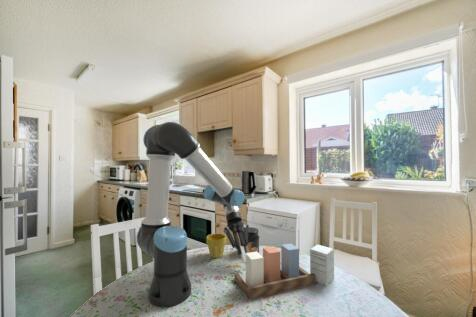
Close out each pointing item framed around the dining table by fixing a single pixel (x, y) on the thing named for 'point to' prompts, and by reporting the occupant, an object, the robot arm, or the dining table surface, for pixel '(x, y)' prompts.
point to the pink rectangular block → (271, 263)
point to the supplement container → (252, 240)
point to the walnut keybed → (276, 284)
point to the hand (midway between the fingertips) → (244, 261)
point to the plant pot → (216, 244)
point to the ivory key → (254, 269)
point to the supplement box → (322, 263)
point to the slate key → (290, 260)
